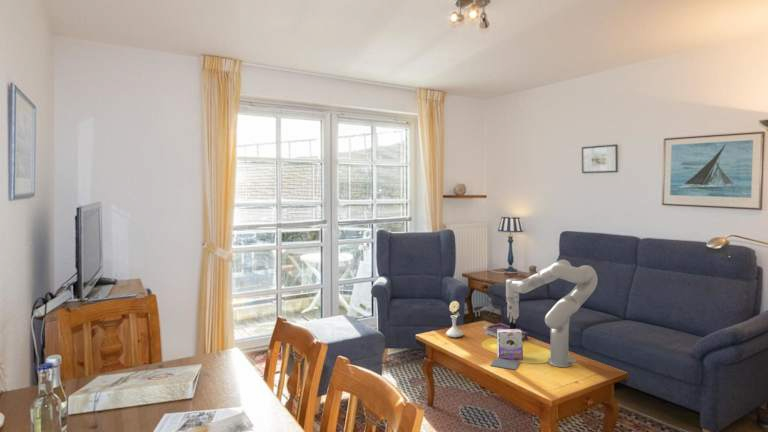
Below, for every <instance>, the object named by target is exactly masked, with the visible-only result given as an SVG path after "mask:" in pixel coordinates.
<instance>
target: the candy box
mask: <svg viewBox="0 0 768 432" xmlns="http://www.w3.org/2000/svg"><path fill="white" fill-rule="evenodd" d="M522 331H523V330H522ZM522 331H521V328H516V329H497V338H496V340H497V345H496V346H497V358H501V359H507V360H524V351H523V350H524V349H523V348H524V347H523V345H524V344H523V342H524V341H523V340H522Z"/></svg>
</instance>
